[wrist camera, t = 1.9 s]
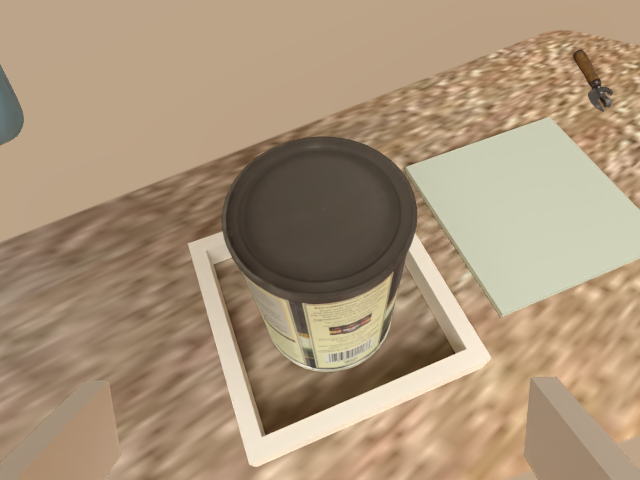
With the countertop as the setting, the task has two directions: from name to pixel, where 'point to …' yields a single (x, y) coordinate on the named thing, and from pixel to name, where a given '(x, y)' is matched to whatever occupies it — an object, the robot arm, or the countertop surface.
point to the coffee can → (322, 246)
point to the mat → (529, 213)
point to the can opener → (592, 80)
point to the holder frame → (353, 410)
